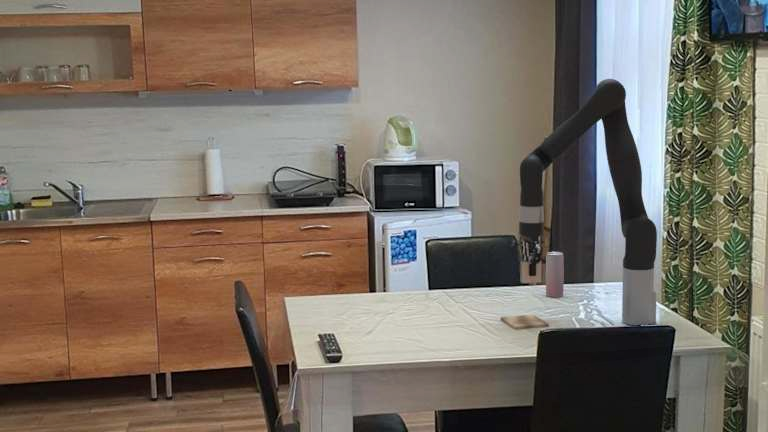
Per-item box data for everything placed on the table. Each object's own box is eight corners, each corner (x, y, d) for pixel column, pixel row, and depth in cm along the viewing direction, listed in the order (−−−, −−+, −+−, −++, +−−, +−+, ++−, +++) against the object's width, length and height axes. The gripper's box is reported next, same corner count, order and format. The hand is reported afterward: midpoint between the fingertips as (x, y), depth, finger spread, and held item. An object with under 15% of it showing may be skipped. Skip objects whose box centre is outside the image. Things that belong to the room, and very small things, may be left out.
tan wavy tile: (533, 316, 301) (533, 314, 300) (548, 326, 289) (548, 323, 289) (500, 319, 298) (500, 317, 298) (514, 329, 286) (515, 326, 286)
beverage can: (545, 293, 332) (545, 251, 330) (563, 293, 331) (563, 251, 329) (546, 297, 326) (546, 254, 324) (563, 297, 325) (564, 254, 323)
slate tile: (538, 280, 297) (538, 260, 296) (541, 282, 295) (541, 261, 294) (520, 281, 296) (520, 261, 295) (523, 283, 293) (523, 262, 292)
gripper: (551, 222, 287) (550, 278, 289) (533, 216, 300) (533, 270, 302) (528, 224, 285) (527, 280, 287) (511, 217, 298) (511, 271, 301)
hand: (530, 274), depth 295 cm, fingers closed on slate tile, 2 cm apart
